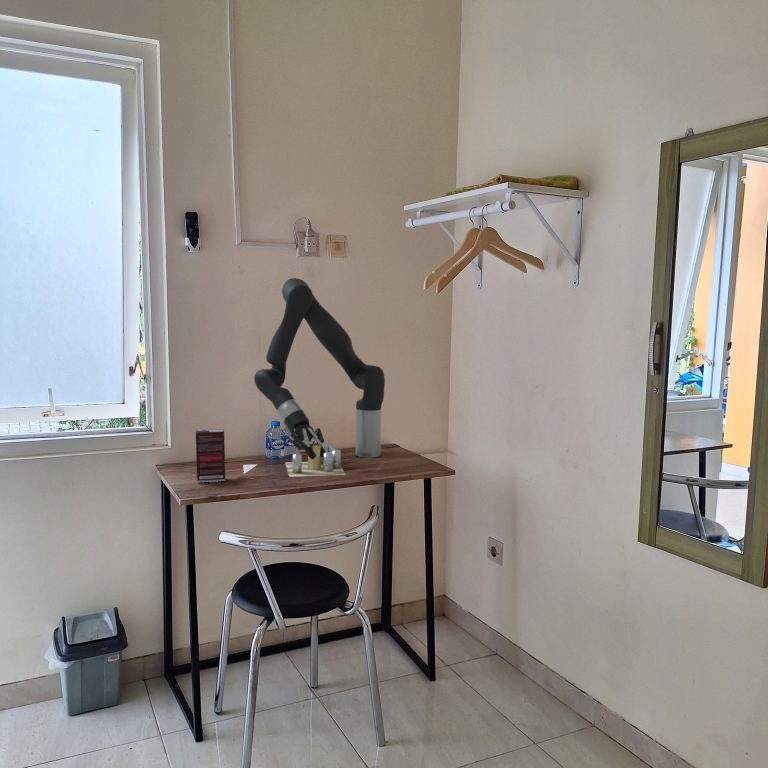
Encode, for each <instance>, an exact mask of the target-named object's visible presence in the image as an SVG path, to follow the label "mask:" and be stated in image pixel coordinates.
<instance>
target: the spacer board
mask: <svg viewBox="0 0 768 768" xmlns="http://www.w3.org/2000/svg"><path fill="white" fill-rule="evenodd" d="M284 464H285V468H286V470H287V475H288V477H290V478H293V477H294V478H295V477H296V478H297V477H325V476H326V477H327V476H346V475H347V474H346V472H345V471H344V468H343V467H342V466H341V468H340V469H333V471H332V472H323V464H321V469H320V470H311V469H308V461H302V473H300V474H294V473H293V461H290V462H289V461H287V462H284Z"/></svg>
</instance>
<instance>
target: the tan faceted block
mask: <svg viewBox="0 0 768 768" xmlns="http://www.w3.org/2000/svg"><path fill="white" fill-rule="evenodd" d="M309 445H310V447H311V448H312V449H313V451H314V452H315V454H316V457H315V458H314V459H311V458H310V457H309V456H308V455H307V462H308V469H311V470H320V469H321V444H318V443H317V442H315V443H312V444H310V443H309Z"/></svg>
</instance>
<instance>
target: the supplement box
mask: <svg viewBox="0 0 768 768" xmlns="http://www.w3.org/2000/svg"><path fill="white" fill-rule="evenodd" d="M225 443H226V442H225V430H224V428H215V429H214V428H213V429H196V430H195V454H196V455H195V457H196V480H197V481H196V482H197V484H205V483H204V482H209V483H222V482H221V481H225V482H226V453H225V452H226V451H225V448H226V447H225V446H226V445H225ZM218 481H220V482H218ZM201 482H202V483H201Z"/></svg>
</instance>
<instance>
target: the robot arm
mask: <svg viewBox="0 0 768 768" xmlns="http://www.w3.org/2000/svg"><path fill="white" fill-rule="evenodd" d="M281 289H282V290H281V294H282V297H283V300H284V301H285V308H284V314H283V318H282V320H281V322H280V324H279V327H278V328H277V329H276V331H275V333H274V335H273V336H272V339H271V341H270V344H269V347H268V349H267V352H266V357H265V359H266V362H267V363H268V364H270V365H271V368H261V369H258V370H257V371H256V373H254V378H253V379H254V384H255V386H256V388H257V389H258V391H259V392H260V393H262V395H264V397H265V398H266V399H268V400H269V401H270V402H271V403H272V405H273V406H274V408H275V409H276V411H277V413H278V415H279V417H280V419H281V420H282V422H283V424H284V425H285V426H286V428H287V430H288V432H289V433H290V434H289V435H288V437H287V439H288V440H289V441H290V443H291V444H293V445H294V447H295V448H297V449H298V450H299V451H304V452H305V453H306V454H307V457H308V456H309V457H310V458H311V459H314V458H315V457H316V454H315V452H314V451H313V449H312V448H311V447H310V445H309V444H312V443H318V444H321V457H323V453H325V452H326V451H325V450H324V448H323V447H322V444H324V443H325V439H324V436H323V433H322V430H321V428H320V427H318V428H316V429H315V428H313V427H312V426H311V424H310V419H309V418H308V415H306V413H305V411H304V410H303V408H302V407H301V406H300V404H299V402H297V401H296V399H295V398H294V396H293V395H292V393H291V392H290V390H289V389H288V388H285V387H282V386H283V384H284V383H285V380H286V375H287V374H286V371H287V361H288V357H289V355H290V352H291V349H292V346H293V343H294V341H295V337H296V335H297V333H298V331H299V328H300V325H301V324H302V322H303V320H305V321H306V323H307V325H308V326H309V328H310V329H311V331H312V333H313V334H314V336H315V337H316V339H317V340H318V341H319V343H321V345H322V346H323V347H324V349H326V350H327V352H328V353H329V354H330V355H331V356H332V358H333V359H335V361H336V362H337V363H338V365H340V367H341V368H342V369H343V370H344V372H345V374H346V375H347V376H348V378H349V379H350V381H351V382H352V384H353V385H354V386H355V388H358V389H360V390H361V391H363V393H362V397H361V399H358V400H357V401H356V402H355V453H354V454H355V457H358V456H359V457H358V458H365V459H366V458H370V459H371V458H378V457H381V450H382V449H381V446H382V405H383V402H384V398H385V386H386V385H385V383H386V381H385V380H386V379H385V373H384V370H383V369H382V368H381V367H379V366H378V365H371V364H366V363H365V362H363V360H362V359H361V358H360V357H359V356H358V355H357V353H356V352H355V350H354V348H353V343H352V339H351V337H350V335H349V334H348V332H346V330H345V329H344V328H343V326H342V325H341V324H340V323H339V322H338V320H336V319H335V317H334V316H333V315H332V314H331V313H330V312H328V310H326V309H325V308H324V307H323V306H322V304H321V303H320V302H319V301H318V299H317V298H316V297H315V296H314V293H313V290H312V289H311V288H310V285H309V284H308V283H307V282H306V281H304V280H303V279H300V278H296V277H293V278H289V279H287V280H286V281H285V282H284V283H283V285H282V288H281Z"/></svg>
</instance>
